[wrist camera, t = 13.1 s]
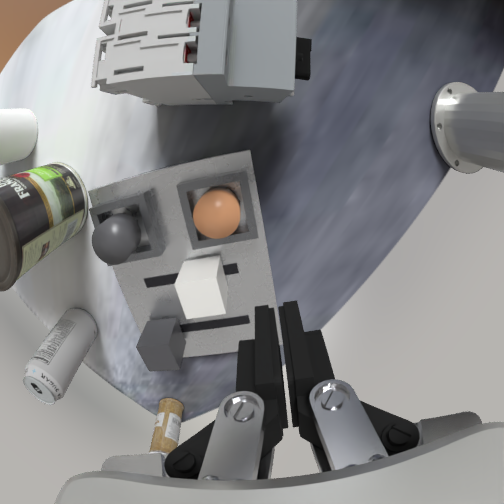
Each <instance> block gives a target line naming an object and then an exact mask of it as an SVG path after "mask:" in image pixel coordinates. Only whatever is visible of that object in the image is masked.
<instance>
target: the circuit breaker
mask: <svg viewBox="0 0 504 504" xmlns="http://www.w3.org/2000/svg"><path fill="white" fill-rule="evenodd" d="M108 15H109V16H110V17H111V20H107V17H108ZM99 28H100V29H101V30H102V31H103V32H104V33H105V34H106V35H107V36H105V37H101V38H97V41H96V47H95V54H94V62H93V71H92V82H91V87H92V88H96V87H97V84H99V85H100V91H103V92H107V93H111V94H115V95H117V94H124V93H128V94H131V95H134V96H137V97H140V98H143V102H144V103H147V104H150V105H156V106H161V104H166V105H168V106H172V105H199V104H229V105H233V100H244V101H263V102H277V103H280V102H282V101H283V100H284V99H285V98H286V97H287V96H294V82H295V79H302V80H309V79H310V51H311V39H306V38H299V37H296V31H297V1H296V0H104V4H103V9H102V13H101V18H100V23H99ZM102 51H103V52H105V53H106V54H105V60H102V61H101V54H102Z"/></svg>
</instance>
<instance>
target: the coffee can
mask: <svg viewBox="0 0 504 504" xmlns="http://www.w3.org/2000/svg"><path fill="white" fill-rule="evenodd" d="M87 209H88V204H87V194H86V190H85V187H84V184H83V182H82V180H81V178H80V177H79V175H78V174H77V173H76V172H75V171H74V170H73V169H72V168H71V167H69V166H68V165H66V164H63V163H50V164H48V165H45V166H41V167H38V168H34V169H31V170H27V171H24V172H20V173H17V174H14V175H11V176H8V177H4V178H1V179H0V291H6V290H8V289H9V288H11V287H12V286H13V285H14V283H15V282H16V280H18V279H19V278H20V277H21V276H22V275H23V274H25V273H26V272H27V271H28V270H29V269H31V268H32V267H33V266H34V265H35V264H37V263H38V262H39V261H40V260H42V259H43V258H44V257H46V256H47V255H48V254H49V253H51V252H52V251H53V250H55V249H56V248H57V247H58V246H60V245H61V244H62V243H64V242H65V241H66V240H68V239H69V238H71V237H73V236H74V235H76V234H77V233H78V232H79V231H80V229H81V228H82V226H83V224H84V222H85V220H86V216H87Z"/></svg>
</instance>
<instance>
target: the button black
mask: <svg viewBox="0 0 504 504" xmlns="http://www.w3.org/2000/svg"><path fill="white" fill-rule="evenodd" d="M140 241H141V229H140V227H139V225H138V223H137V221H136V220H135V219H134V218H133V217H131V216H130V215H127V214H124V213H117V214H114V215H112V216H111V217H110V218H108V219H107V220H105V221H104V222H103V223H101V224H100V225H99V226H97V227H96V228H95V230H94V232H93V235H92V246H93V249H94V251H95V253H96V255H97V256H98V257H99V258H100V259H101V260H102V261H104V262H105V263H108V264H111V265H118V264H121V263H123V262H125V261H126V260H127V259H128V257H129V256H130V255H131V254H132V253H133V251H134V250H135V249H136V248H137V247H138V245H139V244H140Z"/></svg>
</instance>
